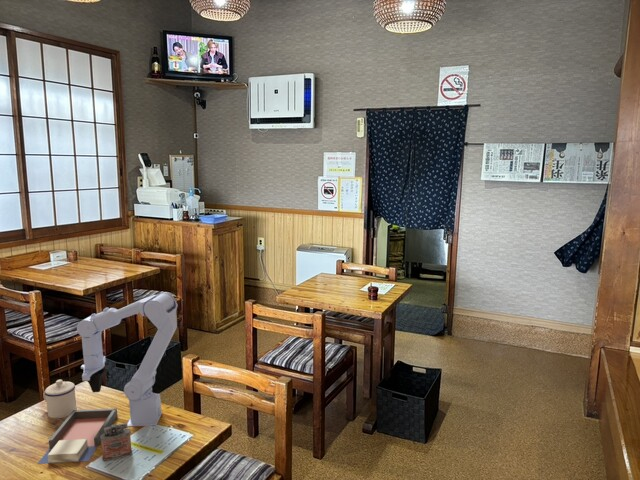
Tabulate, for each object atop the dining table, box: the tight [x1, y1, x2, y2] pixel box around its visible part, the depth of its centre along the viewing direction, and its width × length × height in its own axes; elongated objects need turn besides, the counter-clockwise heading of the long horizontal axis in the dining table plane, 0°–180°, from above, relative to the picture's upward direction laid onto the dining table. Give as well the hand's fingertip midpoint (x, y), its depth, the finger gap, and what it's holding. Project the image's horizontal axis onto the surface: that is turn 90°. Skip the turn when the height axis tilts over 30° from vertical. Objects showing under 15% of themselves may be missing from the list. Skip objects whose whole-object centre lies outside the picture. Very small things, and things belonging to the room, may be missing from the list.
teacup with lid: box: [42, 379, 78, 419], centre depth 161 cm, size 12×9×12 cm
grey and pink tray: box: [48, 408, 118, 449], centre depth 150 cm, size 14×17×3 cm
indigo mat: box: [37, 446, 99, 465], centre depth 138 cm, size 14×7×1 cm, turn 95°
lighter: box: [100, 422, 133, 462], centre depth 137 cm, size 8×3×10 cm, turn 113°
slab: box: [48, 439, 88, 464], centre depth 138 cm, size 8×7×2 cm
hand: (96, 391), depth 157 cm, fingers closed
